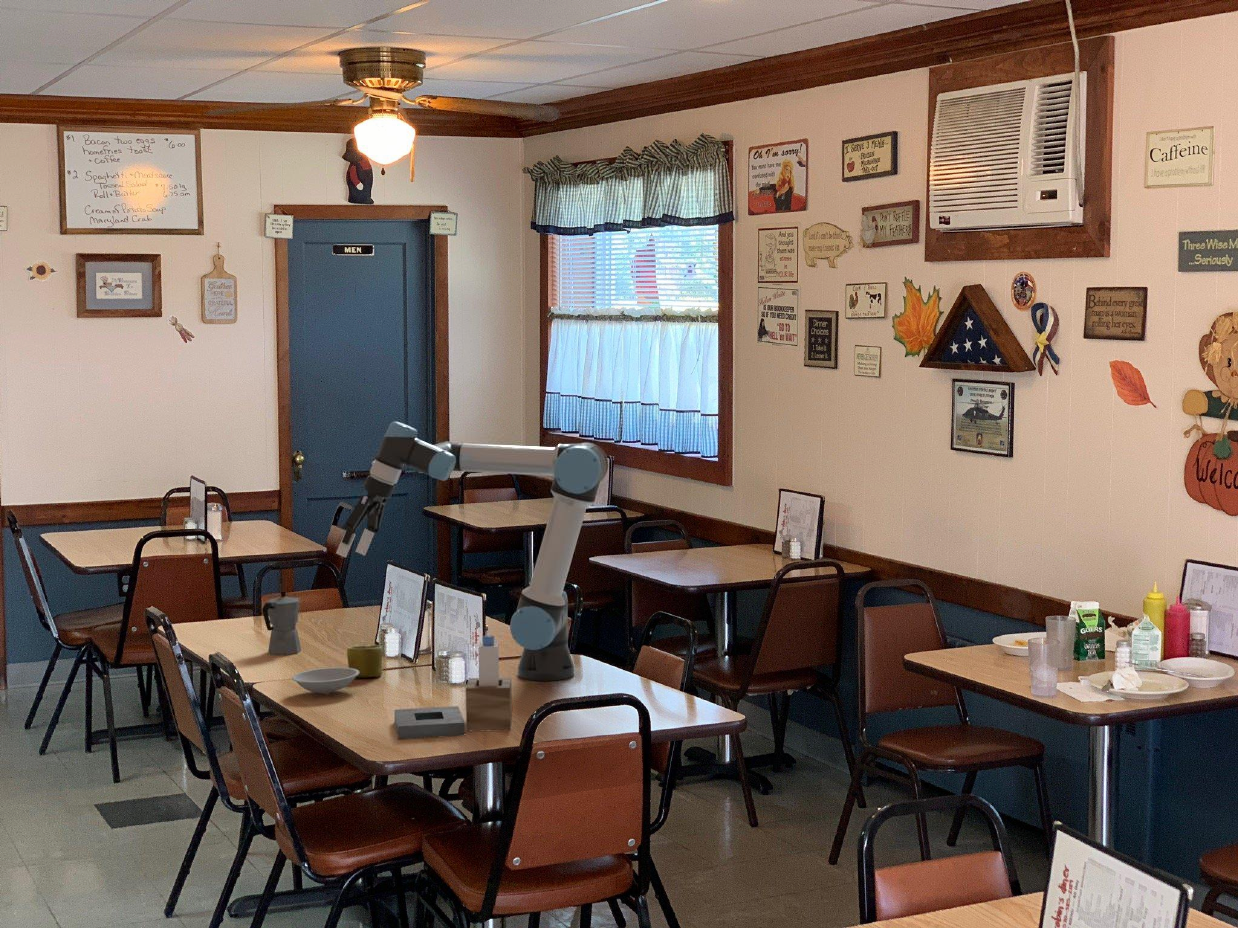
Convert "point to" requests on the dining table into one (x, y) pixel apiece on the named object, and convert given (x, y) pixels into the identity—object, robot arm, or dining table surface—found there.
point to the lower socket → (429, 722)
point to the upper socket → (488, 705)
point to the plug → (488, 662)
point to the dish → (325, 679)
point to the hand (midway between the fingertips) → (350, 554)
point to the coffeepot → (282, 624)
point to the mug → (366, 660)
